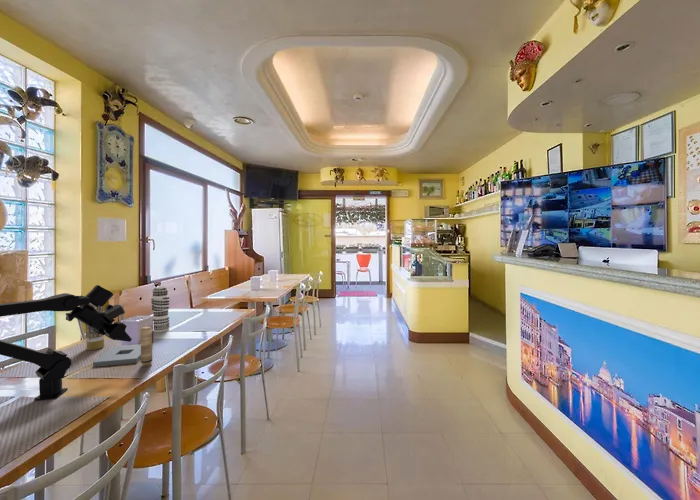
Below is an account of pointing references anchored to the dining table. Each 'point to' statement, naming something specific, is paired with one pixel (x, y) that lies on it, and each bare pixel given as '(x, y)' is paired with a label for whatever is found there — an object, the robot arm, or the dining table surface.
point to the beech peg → (146, 346)
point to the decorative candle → (160, 309)
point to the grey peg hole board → (120, 355)
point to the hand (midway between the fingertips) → (125, 338)
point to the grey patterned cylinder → (94, 335)
